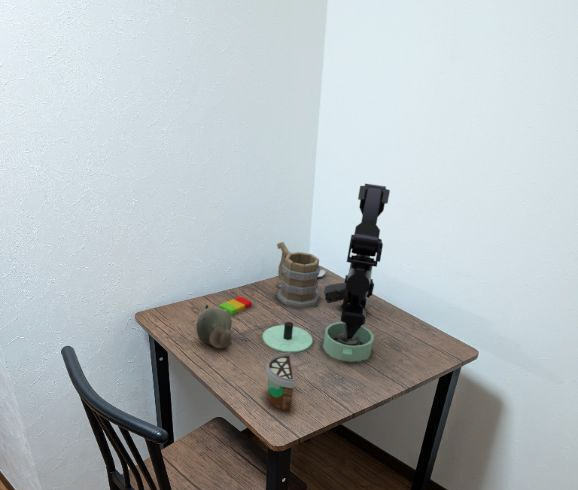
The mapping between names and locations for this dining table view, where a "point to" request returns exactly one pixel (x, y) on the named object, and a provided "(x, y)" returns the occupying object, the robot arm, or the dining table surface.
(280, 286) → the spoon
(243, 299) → the popsicle
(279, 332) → the pot lid
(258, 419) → the dining table surface
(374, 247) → the robot arm
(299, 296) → the tankard
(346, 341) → the dark grey tall piece
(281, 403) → the food container
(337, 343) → the pot
